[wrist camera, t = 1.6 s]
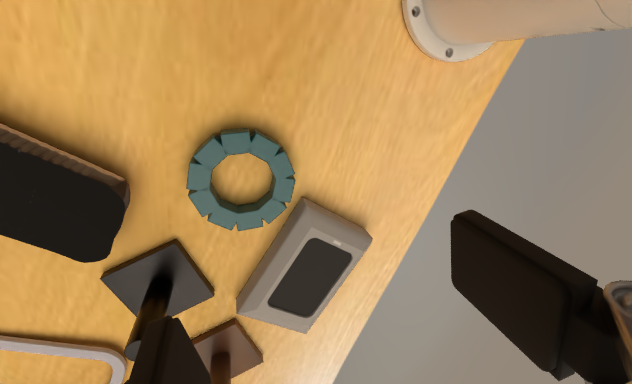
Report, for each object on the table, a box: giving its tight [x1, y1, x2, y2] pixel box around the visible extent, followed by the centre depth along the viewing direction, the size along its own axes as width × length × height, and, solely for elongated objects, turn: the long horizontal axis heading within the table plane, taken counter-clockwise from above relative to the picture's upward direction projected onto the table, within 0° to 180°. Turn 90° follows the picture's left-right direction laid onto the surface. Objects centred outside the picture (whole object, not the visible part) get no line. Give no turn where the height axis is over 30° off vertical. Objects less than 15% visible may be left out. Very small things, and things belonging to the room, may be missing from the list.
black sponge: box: [0, 124, 130, 263], centre depth 24 cm, size 16×8×4 cm, turn 55°
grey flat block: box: [236, 197, 373, 334], centre depth 35 cm, size 10×4×15 cm
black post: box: [100, 239, 215, 362], centre depth 29 cm, size 8×8×9 cm
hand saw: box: [0, 336, 127, 384], centre depth 33 cm, size 33×3×10 cm
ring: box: [186, 128, 295, 231], centre depth 30 cm, size 10×10×2 cm
